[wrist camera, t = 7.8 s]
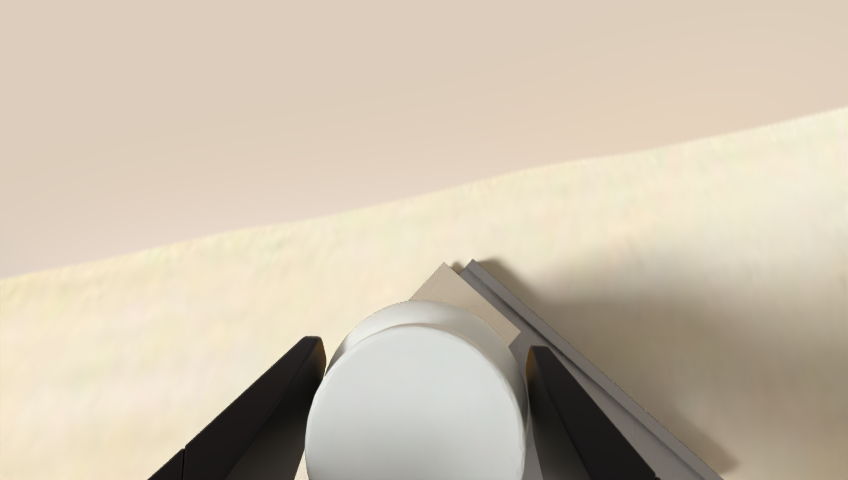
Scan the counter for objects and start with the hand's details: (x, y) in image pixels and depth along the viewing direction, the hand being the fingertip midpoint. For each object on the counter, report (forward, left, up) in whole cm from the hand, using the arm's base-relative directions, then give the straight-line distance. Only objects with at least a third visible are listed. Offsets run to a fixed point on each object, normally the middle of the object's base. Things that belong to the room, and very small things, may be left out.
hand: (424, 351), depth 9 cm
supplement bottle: (-1, +1, -7) cm, 7 cm away
